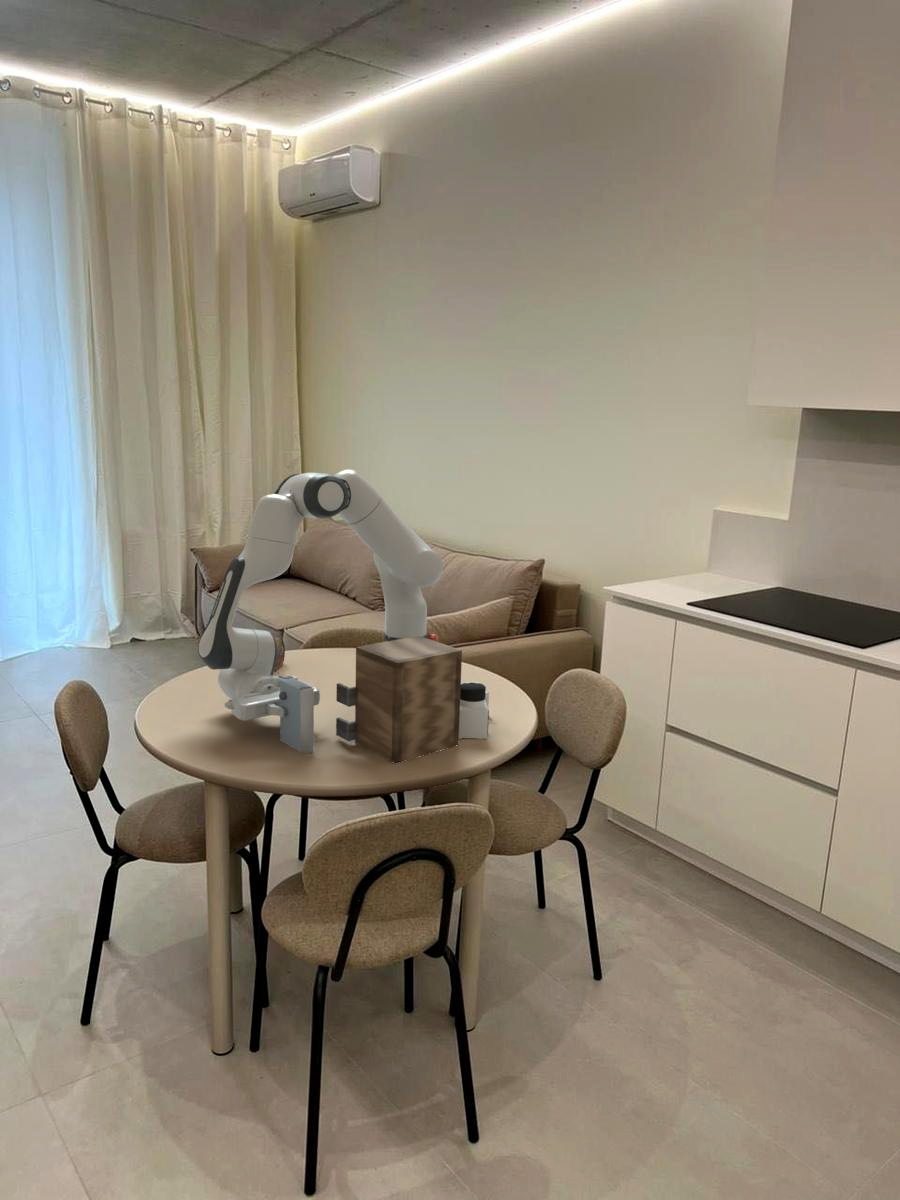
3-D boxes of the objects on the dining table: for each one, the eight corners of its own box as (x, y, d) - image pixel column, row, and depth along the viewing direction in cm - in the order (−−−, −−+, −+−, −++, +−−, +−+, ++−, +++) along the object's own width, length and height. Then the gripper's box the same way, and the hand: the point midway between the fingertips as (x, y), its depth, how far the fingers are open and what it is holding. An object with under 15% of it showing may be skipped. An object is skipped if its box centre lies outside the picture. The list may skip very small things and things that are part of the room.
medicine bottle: (487, 739, 203) (490, 689, 201) (456, 739, 203) (458, 688, 200) (484, 728, 210) (486, 679, 208) (454, 728, 210) (455, 679, 207)
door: (275, 741, 198) (274, 681, 195) (292, 737, 200) (292, 677, 197) (298, 755, 190) (298, 693, 187) (316, 751, 193) (316, 689, 190)
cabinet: (406, 721, 213) (408, 632, 208) (458, 745, 199) (462, 650, 194) (336, 739, 200) (336, 644, 196) (386, 766, 186) (388, 664, 182)
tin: (269, 677, 243) (269, 647, 241) (258, 677, 243) (257, 647, 242) (285, 662, 258) (285, 634, 256) (275, 661, 258) (275, 633, 256)
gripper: (220, 689, 198) (251, 706, 188) (300, 674, 211) (333, 689, 201) (221, 716, 199) (251, 734, 189) (300, 699, 213) (332, 715, 202)
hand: (294, 711), depth 195 cm, fingers closed on door, 3 cm apart
